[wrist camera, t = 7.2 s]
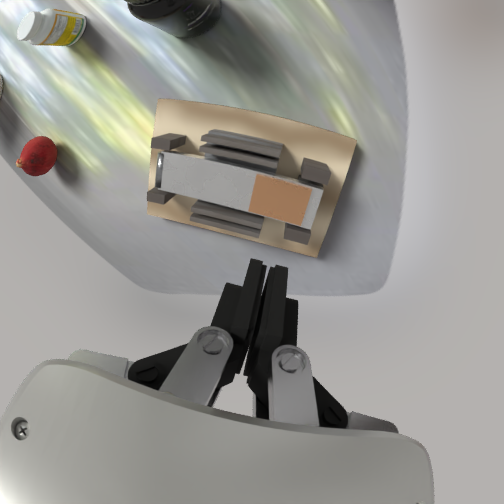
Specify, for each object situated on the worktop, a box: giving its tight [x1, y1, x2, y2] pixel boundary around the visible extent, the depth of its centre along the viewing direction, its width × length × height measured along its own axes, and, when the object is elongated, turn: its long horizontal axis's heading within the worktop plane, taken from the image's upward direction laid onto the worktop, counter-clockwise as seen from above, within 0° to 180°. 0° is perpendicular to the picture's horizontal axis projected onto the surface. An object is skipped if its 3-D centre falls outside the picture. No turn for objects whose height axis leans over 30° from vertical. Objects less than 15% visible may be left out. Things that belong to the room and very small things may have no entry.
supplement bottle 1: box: [17, 9, 86, 46], centre depth 16 cm, size 5×5×10 cm
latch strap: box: [155, 150, 324, 230], centre depth 25 cm, size 4×16×1 cm, turn 78°
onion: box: [16, 136, 57, 176], centre depth 27 cm, size 6×6×8 cm
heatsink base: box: [147, 99, 357, 258], centre depth 27 cm, size 14×21×6 cm, turn 78°
